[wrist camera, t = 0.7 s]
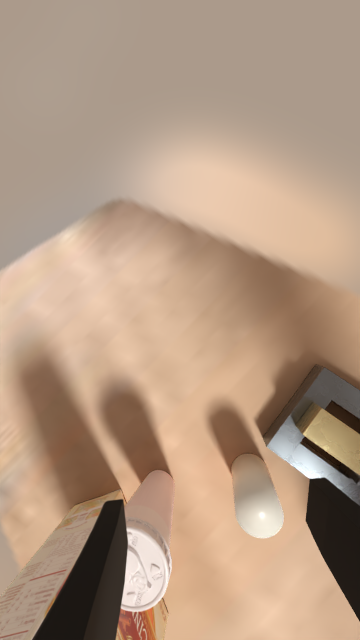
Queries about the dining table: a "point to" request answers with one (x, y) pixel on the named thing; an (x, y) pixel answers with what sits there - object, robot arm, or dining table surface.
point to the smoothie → (148, 542)
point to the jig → (289, 439)
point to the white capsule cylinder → (255, 497)
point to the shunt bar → (331, 435)
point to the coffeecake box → (51, 573)
